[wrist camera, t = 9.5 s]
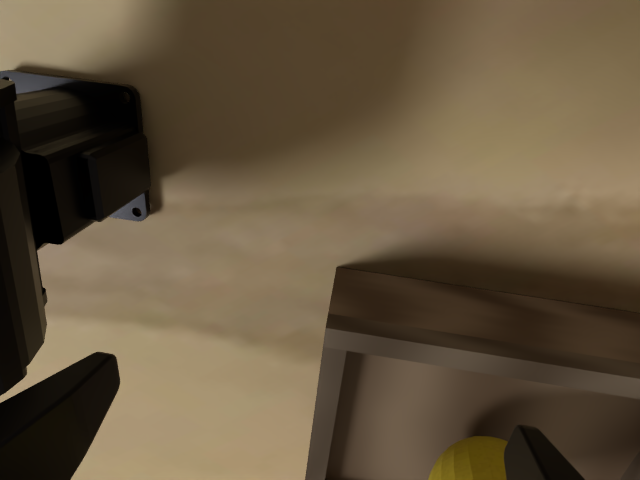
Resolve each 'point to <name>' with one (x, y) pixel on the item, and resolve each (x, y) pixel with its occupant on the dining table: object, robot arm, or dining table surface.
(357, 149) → the dining table surface
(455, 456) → the lemon
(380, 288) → the wooden tray
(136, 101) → the robot arm
